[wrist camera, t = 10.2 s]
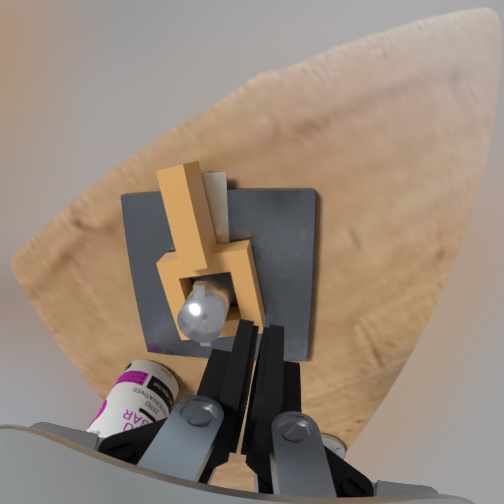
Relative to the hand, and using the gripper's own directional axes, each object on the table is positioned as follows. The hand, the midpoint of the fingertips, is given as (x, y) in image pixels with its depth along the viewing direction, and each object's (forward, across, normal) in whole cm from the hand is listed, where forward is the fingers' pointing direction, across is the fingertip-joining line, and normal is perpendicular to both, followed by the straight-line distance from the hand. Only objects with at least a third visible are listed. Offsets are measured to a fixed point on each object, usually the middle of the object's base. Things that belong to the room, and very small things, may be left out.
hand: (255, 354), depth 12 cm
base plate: (+22, +5, +8) cm, 24 cm away
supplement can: (+22, +13, +25) cm, 36 cm away
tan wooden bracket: (+20, +6, +4) cm, 21 cm away
